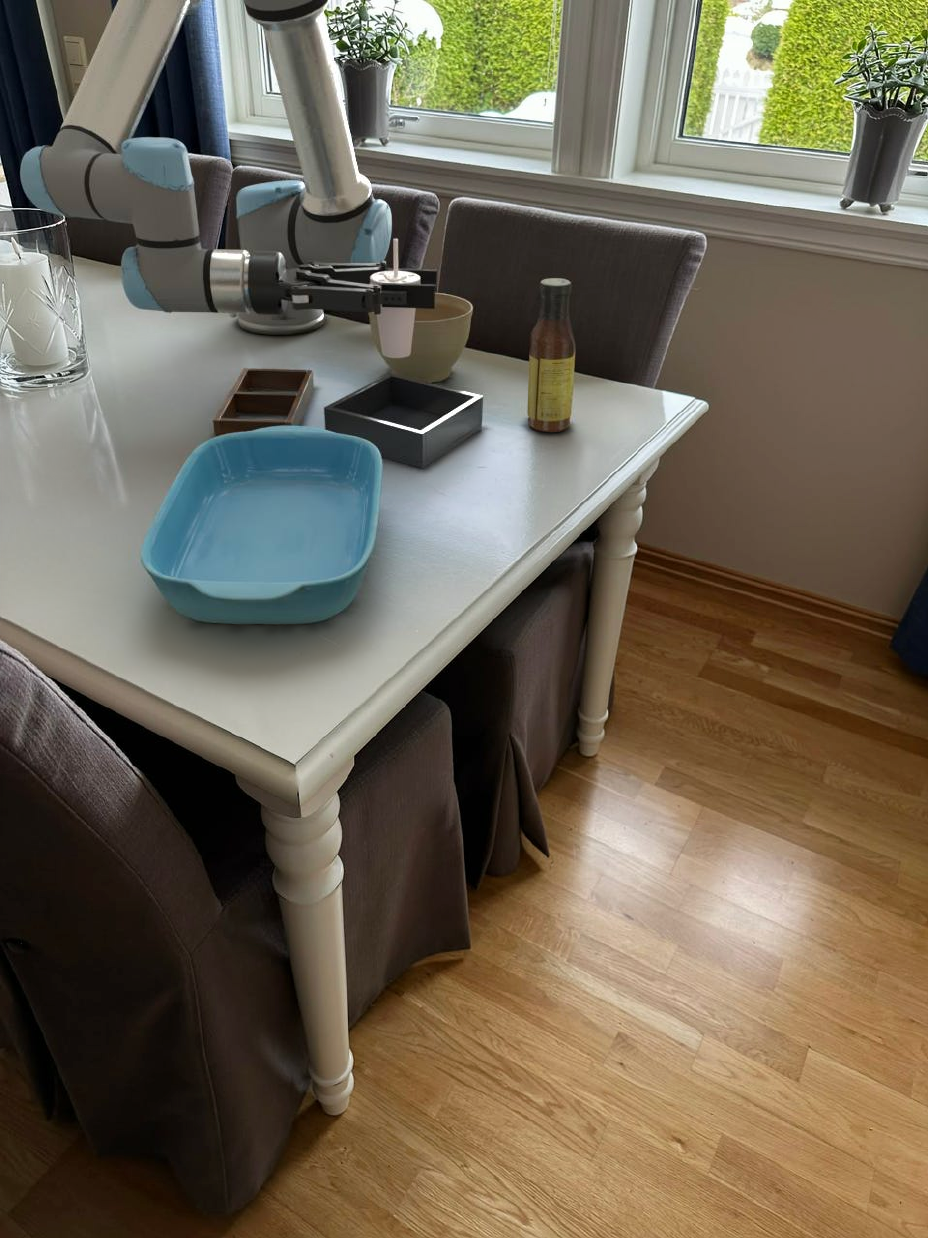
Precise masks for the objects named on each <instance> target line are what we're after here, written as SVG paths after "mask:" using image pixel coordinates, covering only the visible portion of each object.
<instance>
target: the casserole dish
mask: <svg viewBox="0 0 928 1238" xmlns="http://www.w3.org/2000/svg"><path fill="white" fill-rule="evenodd" d="M382 458H383V457H381V454H380V452H379V450H378V448H377V447H376V446H375V445H374V444H372V443H371V442H369V441H367V440H365V439H362V438H359V437H355V436H350V435H345V434H339V433H334V432H331V431H328V430H325V428H320V427H316V426H310V425H309V426H308V425H300V426H273V427H266V428H261V429H257V430H253V431H247V432H237V433H230V434H225V435H221V436H218V437H215V436H214V437H212V438H209V439H207V440H206V441H204V442H202V443H201V444H200V445H198V446H197V447H195V449H194V450H193V451H192V452H191V453H190V454H189V456H187V459H186V460H185V462H184V463H183V464H182V466H181V468H180V470H179V472H177V475H176V477H175V479H174V481H173V483H172V485H171V487H170V488H169V490H168V492H167V493H166V496H165V498H164V499H163V501H162V503H161V505H160V507H159V509H158V510H157V513H156V514H155V516H154V518H153V520H152V521H151V523H150V525H149V527H148V530H147V532H146V534H145V536H144V539H143V540H142V541H143V542H142V544H141V548H140V562H141V564H142V567H143V568H144V570H145V571H146V572H147V574H148V575H149V576H150V578H151V579H152V580H153V582H154V584H155V586H156V587H157V589H158V590H159V592H160V593H161V595H162V597H163V598H164V599H165V600H166V601H167V603H168V604H169V605H170V606H171V607H172V608H173V609H174V610H175V611H176V612H178V613H179V614H181V615H182V616H185V617H187V618H189V619H192V620H194V621H195V620H196V621H197V622H198V621H199V622H202V623H211V624H226V625H228V624H229V625H257V624H259V625H305V624H313V623H318V622H321V621H325V620H328V619H330V618H333V617H334V616H336V615H339V614H341V612H343V611H344V610H345V609H346V608H347V607H348V606H349V605H351V604H352V602H353V601H354V599H355V598H356V596H357V594H358V592H359V590H360V588H361V586H362V583H363V581H364V578H365V575H366V574H367V573H366V572H367V569H368V566H369V562H370V559H371V557H372V554H373V552H374V550H375V546H376V540H377V536H378V528H379V518H380V508H381V496H382V486H383V476H384V475H383V473H384V471H383V470H384V467H383V465H384V463H383V459H382Z"/></svg>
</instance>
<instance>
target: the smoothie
mask: <svg viewBox="0 0 928 1238" xmlns="http://www.w3.org/2000/svg"><path fill="white" fill-rule="evenodd" d="M392 241H393V247H392V248H393V268H394V271H382V272H377V273H374V274H372V275H371V276H370V285H377V286H380V290H381V284H382V283H403V284H420V276H418V275H417V274H415V273H411V272H406V271H398V268H399V239H398V238H393V240H392ZM415 310H416V308H394V307H382V304H381V314H378V315H377V321H378V328H379V335H380V342H381V349H382V354H383V355H384V356H386V357H390V358H403V357H407V356H409V355H410V352H411V344H412V335H413V327H414V319H415Z"/></svg>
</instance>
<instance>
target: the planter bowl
mask: <svg viewBox="0 0 928 1238" xmlns="http://www.w3.org/2000/svg"><path fill="white" fill-rule="evenodd" d="M473 310H474V306H473V304H472V303H471V302H470V301H468V300H467V299H465V298H462V297H460V296H456V295H452V294H446V293H440V292H437V293H435V309H424V308H416V310H415V319H414V327H413V335H412V344H411V352H410V355H409V356H407V357H403V358H390V357H386V356H384V355H383V354H382V349H381V342H380V335H379V328H378V321H377V315H374V312H372V313H367V314H368V316H369V325H370V332H371V335H372V339H373V342H374V345H375V347H376V349H377V351H378V353H379V355H380V356H381V358H382V360H383V361H384V362H385V364H386V365H387V366H388V368H389V372H390V374H395V375H399V376H403V377H407V378H411V379H415V380H419V381H423V382H428V383H432V384H434V383H437V382H441V381H444V380H447V378H449V377H450V376H451V373H452V368H453V367H454V366H455V364H456V363H457V361H458V359H459V358H460V357H461V354H462V353H463V351H464V349H465V348H466V344H467V342H468V339H469V334H470V329H471V321H472V320H471V319H472V317H473V316H472V315H473Z"/></svg>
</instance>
